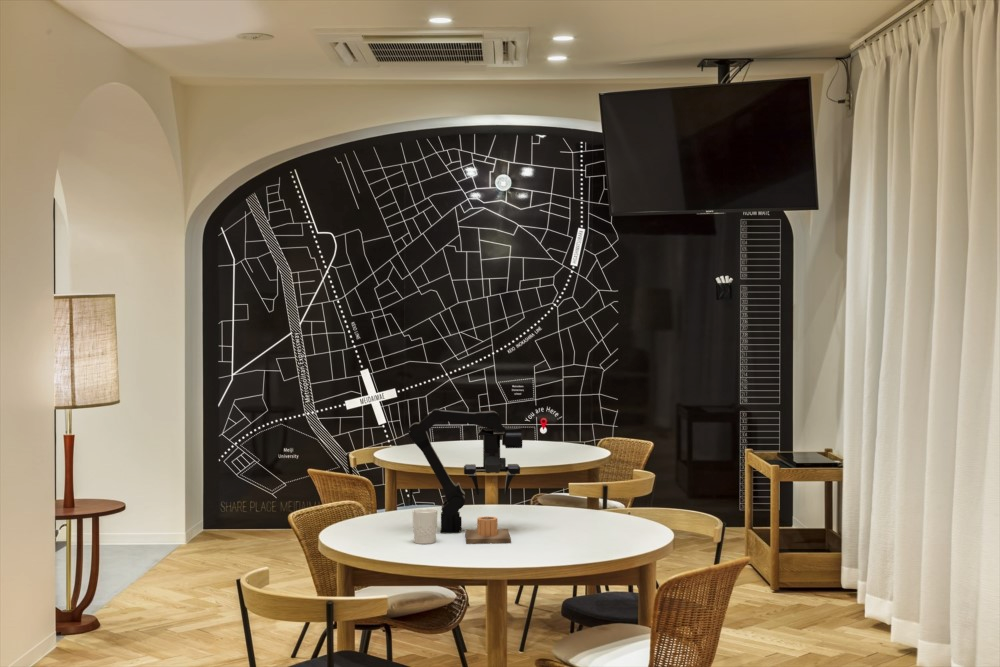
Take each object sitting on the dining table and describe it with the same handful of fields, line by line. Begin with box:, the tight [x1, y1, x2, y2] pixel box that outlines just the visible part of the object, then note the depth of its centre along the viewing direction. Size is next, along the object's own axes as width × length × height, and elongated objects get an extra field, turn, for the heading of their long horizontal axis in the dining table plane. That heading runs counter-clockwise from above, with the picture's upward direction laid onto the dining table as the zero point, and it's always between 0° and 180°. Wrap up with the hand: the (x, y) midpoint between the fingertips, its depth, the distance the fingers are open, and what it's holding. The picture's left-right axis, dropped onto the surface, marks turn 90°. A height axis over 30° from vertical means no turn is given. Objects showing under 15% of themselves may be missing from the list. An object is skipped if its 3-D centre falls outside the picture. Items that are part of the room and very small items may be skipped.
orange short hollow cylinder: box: [476, 516, 498, 536], centre depth 311 cm, size 6×6×5 cm
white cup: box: [412, 508, 438, 545], centre depth 306 cm, size 8×8×10 cm
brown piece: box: [465, 518, 512, 545], centre depth 311 cm, size 14×16×6 cm
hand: (491, 495), depth 324 cm, fingers open, 9 cm apart
